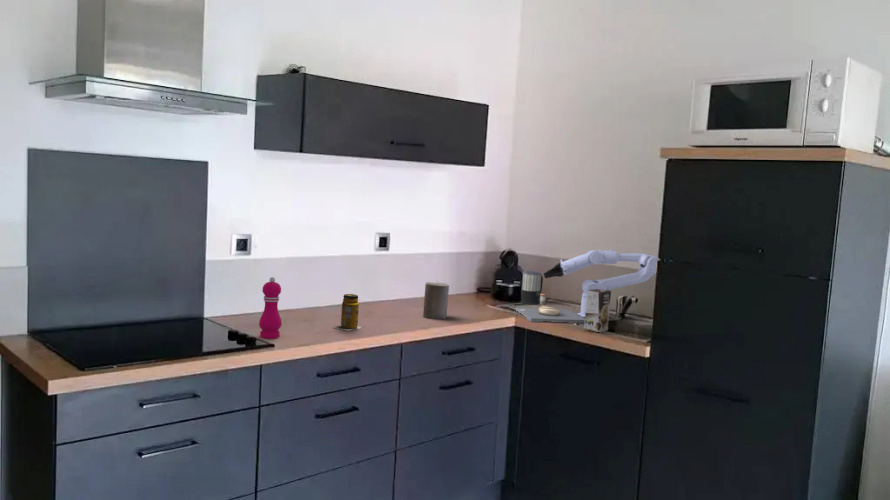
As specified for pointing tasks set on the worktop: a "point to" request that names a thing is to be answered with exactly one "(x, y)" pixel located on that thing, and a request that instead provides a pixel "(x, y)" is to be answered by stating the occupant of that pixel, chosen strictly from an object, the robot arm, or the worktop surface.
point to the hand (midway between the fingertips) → (545, 275)
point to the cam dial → (545, 309)
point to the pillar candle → (436, 300)
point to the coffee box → (597, 309)
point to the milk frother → (531, 287)
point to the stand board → (550, 316)
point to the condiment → (349, 313)
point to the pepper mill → (270, 311)
